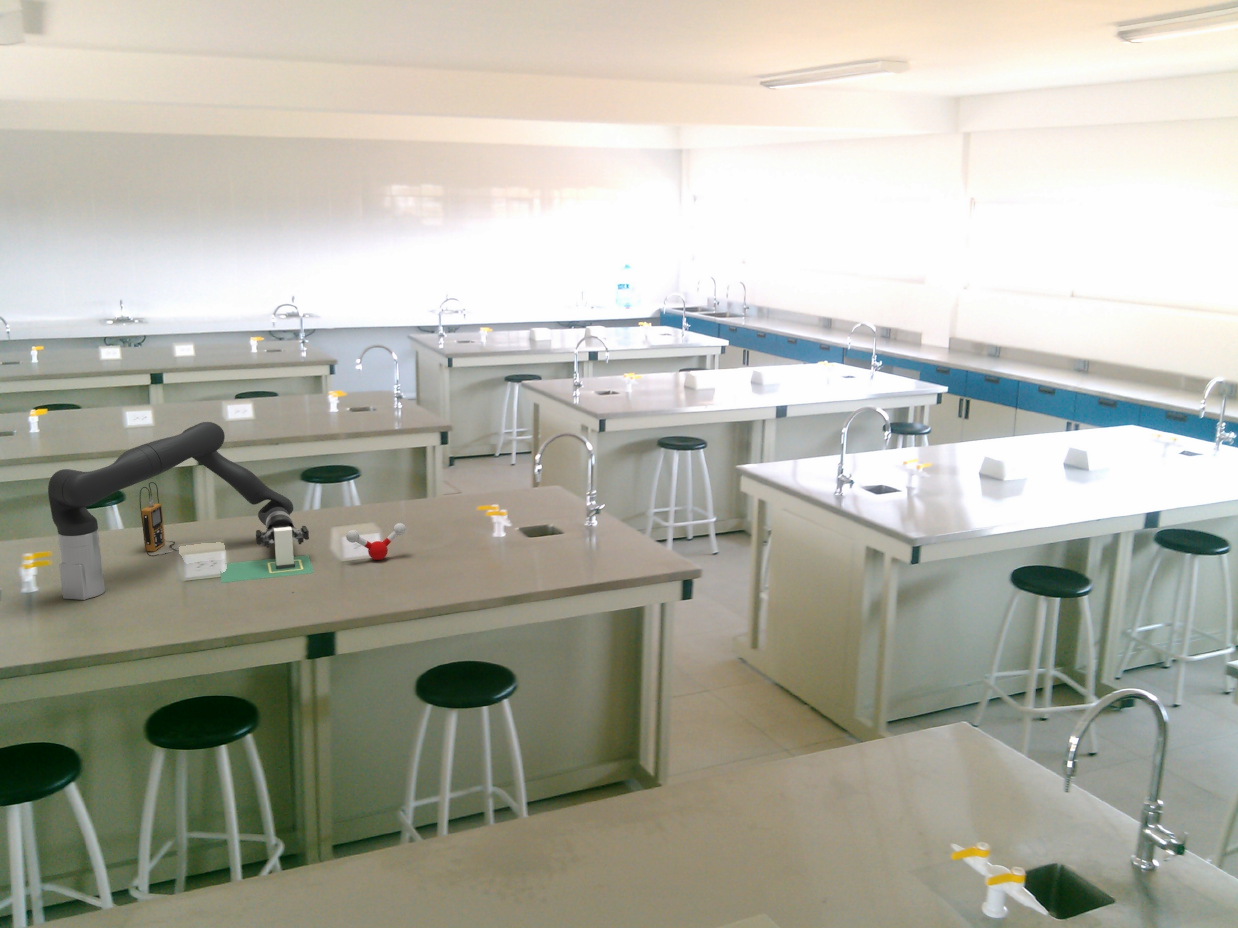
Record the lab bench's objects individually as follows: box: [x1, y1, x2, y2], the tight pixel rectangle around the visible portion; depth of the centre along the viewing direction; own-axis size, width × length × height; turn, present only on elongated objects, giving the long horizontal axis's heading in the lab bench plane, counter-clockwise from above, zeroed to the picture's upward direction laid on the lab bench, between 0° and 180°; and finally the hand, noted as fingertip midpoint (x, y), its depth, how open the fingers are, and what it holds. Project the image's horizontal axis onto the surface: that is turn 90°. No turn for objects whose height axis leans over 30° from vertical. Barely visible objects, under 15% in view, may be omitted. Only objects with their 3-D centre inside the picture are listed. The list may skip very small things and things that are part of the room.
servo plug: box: [274, 527, 295, 566], centre depth 280 cm, size 3×5×10 cm, turn 112°
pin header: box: [275, 562, 295, 569], centre depth 281 cm, size 3×5×4 cm
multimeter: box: [139, 482, 178, 557], centre depth 296 cm, size 15×10×20 cm
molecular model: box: [345, 522, 407, 561], centre depth 291 cm, size 18×6×10 cm, turn 120°
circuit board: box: [220, 554, 315, 584], centre depth 279 cm, size 24×16×2 cm, turn 113°
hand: (284, 542), depth 278 cm, fingers open, 8 cm apart
